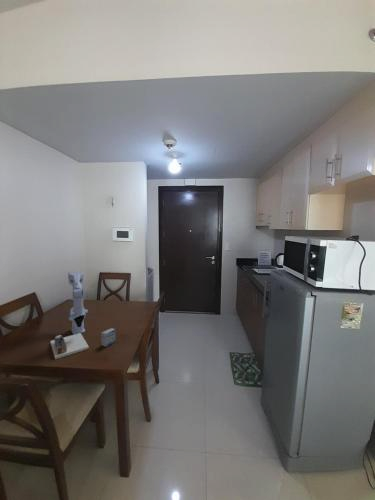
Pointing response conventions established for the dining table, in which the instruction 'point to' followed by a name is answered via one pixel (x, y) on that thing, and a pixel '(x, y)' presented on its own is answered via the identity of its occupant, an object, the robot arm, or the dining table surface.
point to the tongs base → (58, 346)
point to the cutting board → (71, 345)
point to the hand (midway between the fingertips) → (79, 326)
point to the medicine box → (108, 337)
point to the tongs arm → (62, 343)
